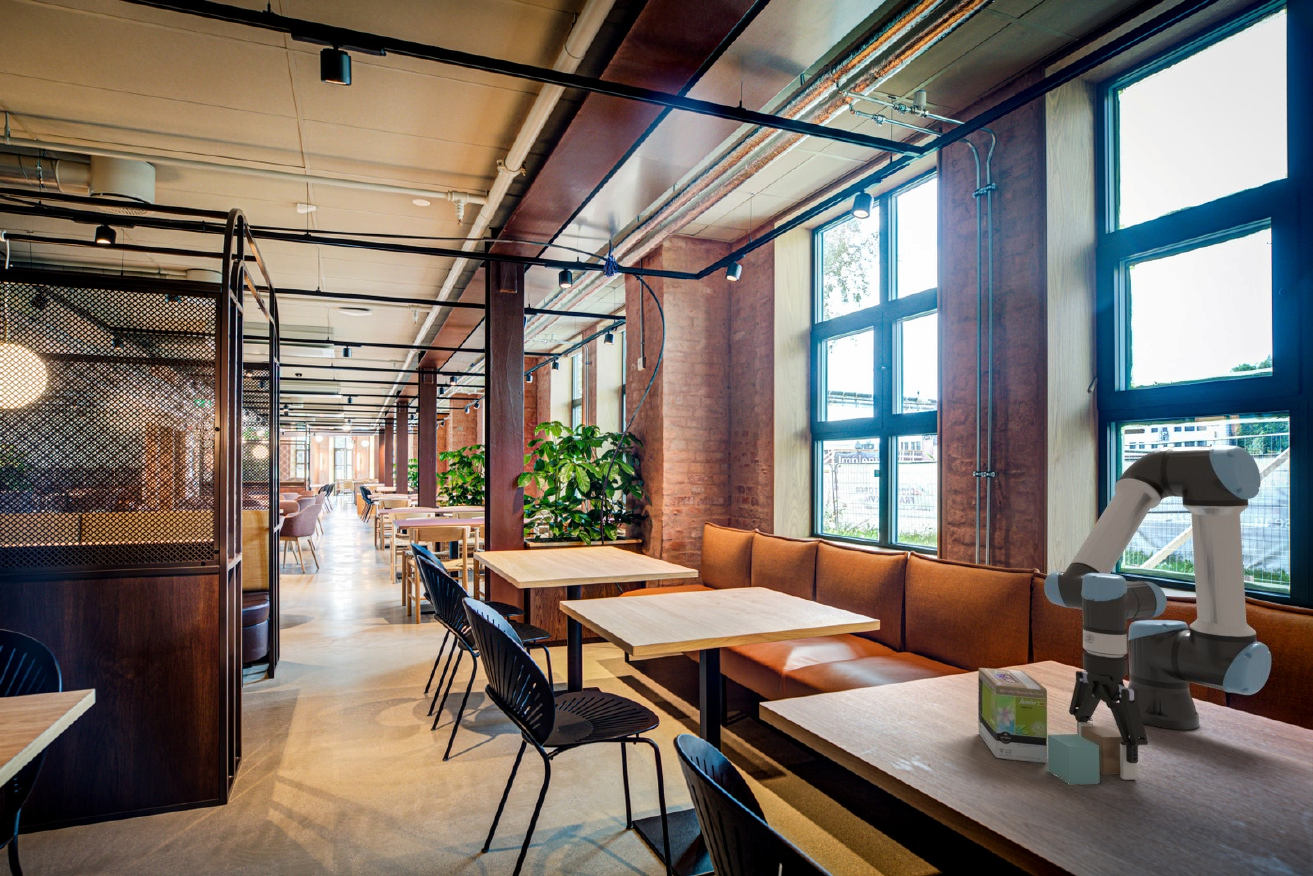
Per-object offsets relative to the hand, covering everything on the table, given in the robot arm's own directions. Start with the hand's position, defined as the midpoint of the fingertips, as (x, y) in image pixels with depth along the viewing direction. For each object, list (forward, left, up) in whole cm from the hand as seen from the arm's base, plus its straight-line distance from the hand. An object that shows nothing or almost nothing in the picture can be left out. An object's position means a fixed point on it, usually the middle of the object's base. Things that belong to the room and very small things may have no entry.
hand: (1106, 766), depth 140 cm
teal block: (+10, +4, 0) cm, 11 cm away
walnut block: (0, 0, 0) cm, 0 cm away
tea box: (+13, -11, -1) cm, 17 cm away
